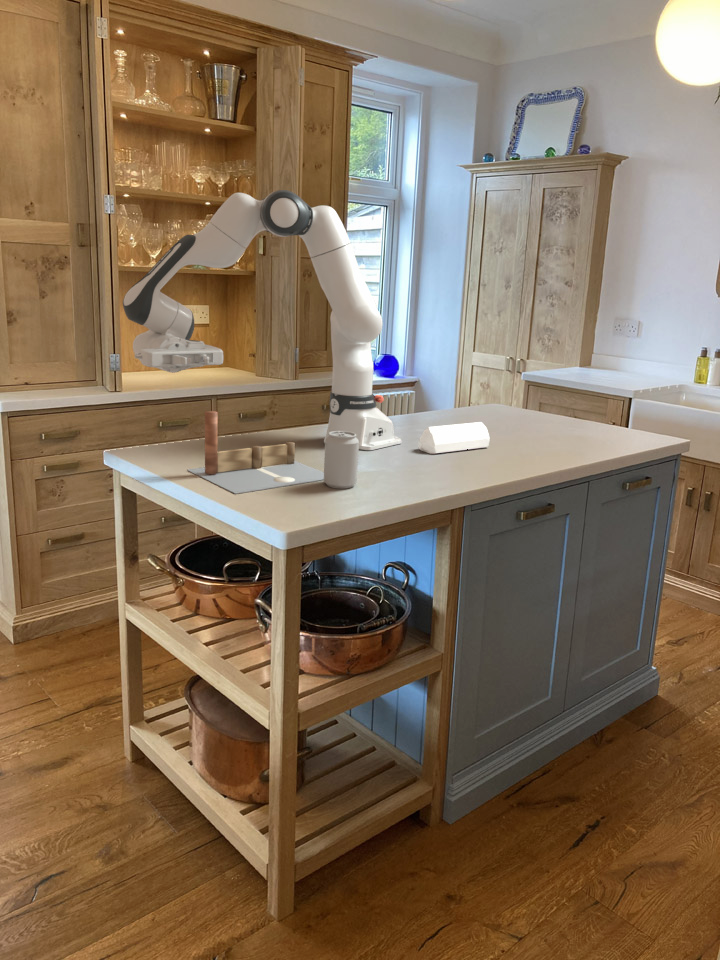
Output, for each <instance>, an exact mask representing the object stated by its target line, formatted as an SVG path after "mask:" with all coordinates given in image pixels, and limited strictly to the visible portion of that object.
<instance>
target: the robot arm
mask: <svg viewBox="0 0 720 960" xmlns="http://www.w3.org/2000/svg"><path fill="white" fill-rule="evenodd" d="M263 231H264V232H268V233H270V234H272V235H274V236H277V237H280V238H281V237H282V238H286V237H287V238H288V237H292V236H298V237H300V238H301V239H302V241H303V242H304V244H305V247H306V249H307V251H308V255H309V257H310V261H311V263H312V266H313V269H314V271H315V275H316V276H317V280H318V282H319V285H320V287H321V289H322V291H323V292H324V295H325V296H326V297H325V298H326V299H327V301H328V303H329V305H330V308H331V310H332V311H331V312H330V318H329V319H330V320H329V321H330V340H331V341H330V342H331V353H332V375H331V376H332V378H331V379H332V380H331V391H330V394H329V411H330V412H329V419H328V424H327V429H326V433H325V435H324V440H323V443H324V444H325V439H326V438H327V437H328V436H329V434H328V433H329V432H332V431H348V432H353V433H355V434H356V438H357V439H358V441H359V450H362V451H373V450H378V449H383V448H387V447H392V446H396V445H399V444H402V438H400V437H398V436H396V435H395V433H394V429H395V428H394V424H393V420H391V419H390V417H388V416H387V415H386V414H385V413H384V412H382V411H381V410H380V409H379V408H378V407H377V403H379V404H381V403H383V402H384V401H385V398H384V397H383V395H379V394H376V395H375V394H374V393H373V381H374V362H373V356H372V345H371V344H372V342H373V341H375V340H376V339H377V338H378V337H379V336H380V334H381V332H382V330H383V317H382V316H381V313H380V311H379V310H378V307H377V305H376V302H375V300H374V298H373V296H372V294H371V291H370V289H369V287H368V285H367V283H366V281H365V279H364V276H363V274H362V272H361V269H360V266H359V264H358V260H357V257H356V254H355V252H354V249H353V246H352V244H351V240H350V238H349V235H348V232H347V230H346V228H345V226H344V223H343V222H342V220H341V218H340V216H339V214H338V213H337V211H336V210H335V209H334V208H333V207H331V206H329V205H317V206H314V207H311V206H310V205H309V204H308V203H307V202H306V201H304V200H303V199H302V198H301V197H300V195H298V194H296V193H295V192H293V191H291V190H286V189H278V190H275V191H272V192H271V193H270V194H268V195H267V196H266V197H265V198H263V199H260V200H258V199H256V198H254V197H252V196H251V195H250V194H247V193H245V192H244V193H243V192H235V193H232V194H231V195H230V196H229V197H228V198H227V199H226V200H225V201H223V203H222V204H221V206H220V207H218V209H217V211H216V212H215V213H214V214H213V215H212V217H211V218H210V220H209V221H208V223H207V224H206V225H205V227H203V228H202V229H201V230H200V231H198V232H196V233H194V234H185V235H183V236H182V237H181V238H180V239H179V240H177V241H176V242H175V243H174V244H173V245H172V246H171V247H170V248H169V249H168V250H167V251H166V252H165V253H164V255H163V256H162V257H161V258H160V259H159V260H158V261H157V262H156V263H155V264H154V265H153V266H152V268H151V269H149V271H148V272H147V273H145V275H144V276H143V277H141V278H140V280H138V281H137V282H136V283H134V284H133V285H132V286H131V287H130V288H129V289H128V290H127V292H126V293H125V295H124V297H123V300H122V306H123V307H122V308H123V310H124V314H125V315H126V318H127V319H128V320H129V321H131V322H133V323H135V324H138V325H140V326H143V327H145V328H146V329H147V331H145V332H142V333H139V334H138V335H136V336H135V338H134V339H133V342H132V350H133V353H134V355H133V356H134V359H138V361H139V362H140V364H141V365H143V366H145V367H148V368H155V369H158V370H162V371H165V372H167V373H172V374H173V373H179V372H181V371H186V370H188V369H189V370H190V369H193V368H200V367H205V366H218V365H219V366H220V365H222V364H223V363H224V351H223V350H222V348H219V347H217V346H214V345H211V344H205V342H204V341H202V340H197V339H196V340H195V339H193V340H192V339H191V338H192V335H193V334H194V331H195V317H194V314H193V311H192V310H191V309H190V308H188V307H187V306H185V305H183V304H182V303H180V302H179V301H177V300H175V299H173V298H172V297H170V296H168V295H166V294H165V293H163V292H161V290H162V288H163V287H164V286H165V285H166V284H167V283H168V282H169V281H170V280H171V279H172V278H173V277H174V276H175V275H176V274H177V272H178V271H180V270H181V269H182V268H184V267H186V266H190V265H194V266H195V265H196V266H203V267H207V268H213V269H224V268H229V267H231V266H233V265H235V264H236V263H237V262H239V260H240V258H241V257H243V254H244V253H245V251H246V249H248V247H249V246H250V244H251V242H252V241H253V239H254V238H255V237H256V236H257V235H259V233H260V232H263Z"/></svg>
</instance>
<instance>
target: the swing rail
mask: <svg viewBox="0 0 720 960" xmlns="http://www.w3.org/2000/svg"><path fill="white" fill-rule="evenodd" d="M218 413H219V412H218V411H215V410H207V411H204V467H205V473H206V474H217V472H225V471H232V470H239V469H246V468H252V449H251V448H250V447H246V448H238V449H229V450H222V451H221V450H220V451H218V449H219V448H218V446H219V445H218V442H219V441H218V440H219V439H218V438H219V437H218V435H219V434H218V423H219V422H218V419H219V415H218Z"/></svg>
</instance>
